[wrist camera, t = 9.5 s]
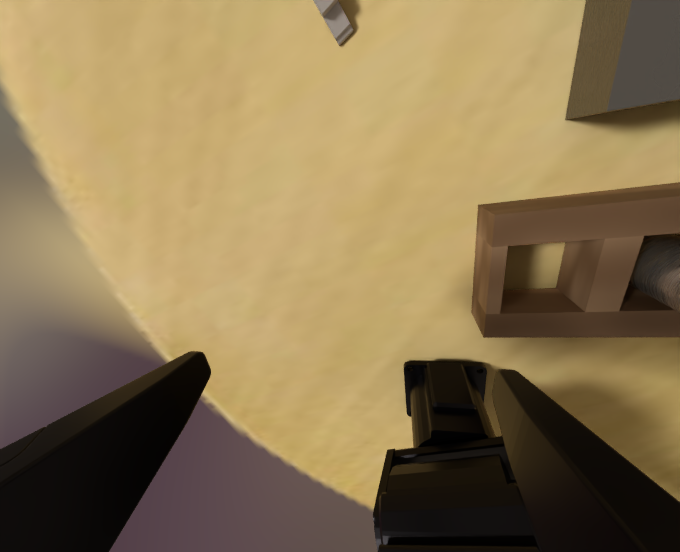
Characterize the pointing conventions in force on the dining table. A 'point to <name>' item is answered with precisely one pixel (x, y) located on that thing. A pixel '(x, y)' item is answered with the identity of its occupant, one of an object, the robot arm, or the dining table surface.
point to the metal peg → (659, 269)
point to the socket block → (626, 56)
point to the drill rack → (575, 264)
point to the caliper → (335, 19)
